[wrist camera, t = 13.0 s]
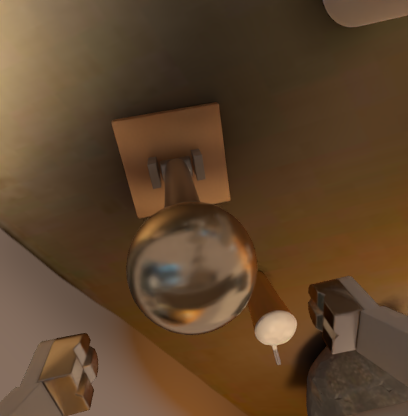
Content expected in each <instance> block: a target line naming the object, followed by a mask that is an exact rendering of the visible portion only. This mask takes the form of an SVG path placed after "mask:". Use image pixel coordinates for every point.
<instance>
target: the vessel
mask: <svg viewBox="0 0 408 416" xmlns="http://www.w3.org/2000/svg"><path fill="white" fill-rule="evenodd" d="M406 401H408V387H407V386H406V385H405V384H403V383H402V382H400V381H399V380H397V379H396V378H394V377H393V376H392V375H390V374H389V373H387V372H386V371H384V370H383V369H381V368H380V367H379V366H377V365H376V364H374V363H373V362H371V361H370V360H368V359H367V358H366V357H364V356H363V355H361V354H360V353H358V352H357V351H356V350H352V351H347V352H342V353H337V354H332V353H331V352H330V350H329V348H328V347H326V348H325V349H324V350H323V351H322V352H321V353H320V354H319V356H318V357H317V358H316V360H315V361H314V363H313V364H312V366H311V368H310V370H309V373H308V376H307V413H308V416H348V415H353V414H357V413H361V412H365V411H369V410H373V409H377V408H381V407H385V406H390V405H394V404H398V403H402V402H406Z"/></svg>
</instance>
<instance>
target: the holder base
mask: <svg viewBox="0 0 408 416" xmlns="http://www.w3.org/2000/svg"><path fill="white" fill-rule="evenodd" d="M111 123H112V127H113V131H114V134H115V138H116V141H117V145H118V149H119V152H120V156H121V159H122V163H123V167H124V170H125V174H126V177H127V181H128V184H129V188H130V192H131V195H132V199H133V202H134V206H135V210H136V213H137V217H138V218H143V217H148V216H152V215H153V214H154V213H156V212H158V211H159V210H161V209H163V208H165V182H164V180H163V177H162V172H161V167H160V161H163V160H169V159H174V158H180V157H185V156H189V157H190V161H191V166H192V172H193V177H192V179H193V182H194V185H195V188H196V191H197V194H198V197H199V200H200V202H205V203H209V204H216V203H221V202H226V201H230V192H229V184H228V176H227V167H226V159H225V150H224V142H223V134H222V125H221V117H220V109H219V104H218V103H217V102H214V103H208V104H202V105H196V106H191V107H185V108H179V109H173V110H167V111H162V112H156V113H150V114H144V115H139V116H133V117H127V118H121V119H115V120H113V121H112V122H111Z"/></svg>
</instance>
